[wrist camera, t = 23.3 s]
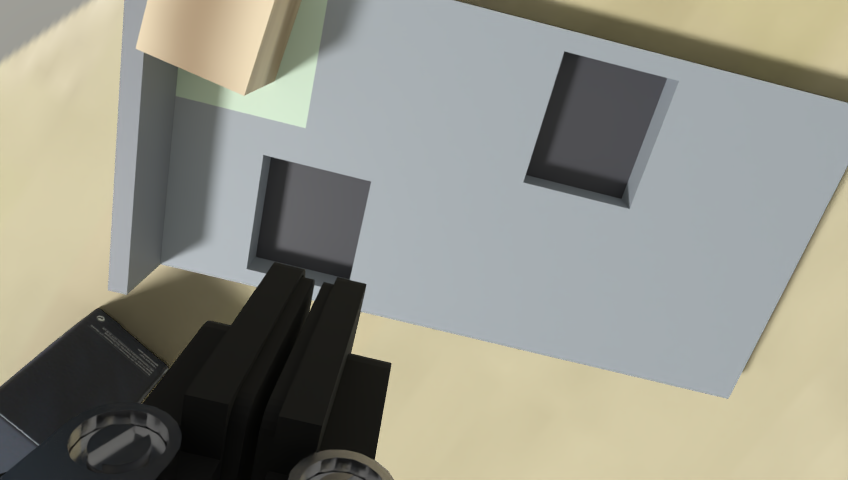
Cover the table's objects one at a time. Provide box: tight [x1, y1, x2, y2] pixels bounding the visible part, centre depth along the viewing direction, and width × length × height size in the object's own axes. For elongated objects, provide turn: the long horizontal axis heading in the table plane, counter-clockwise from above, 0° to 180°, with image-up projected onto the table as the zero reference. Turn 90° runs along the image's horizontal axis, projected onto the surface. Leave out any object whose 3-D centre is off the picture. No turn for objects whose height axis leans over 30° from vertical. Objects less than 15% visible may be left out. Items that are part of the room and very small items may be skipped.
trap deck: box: [108, 0, 848, 399], centre depth 33 cm, size 36×18×6 cm, turn 76°
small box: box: [0, 308, 169, 474], centre depth 37 cm, size 11×6×10 cm, turn 132°
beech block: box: [136, 0, 302, 96], centre depth 29 cm, size 5×5×5 cm
